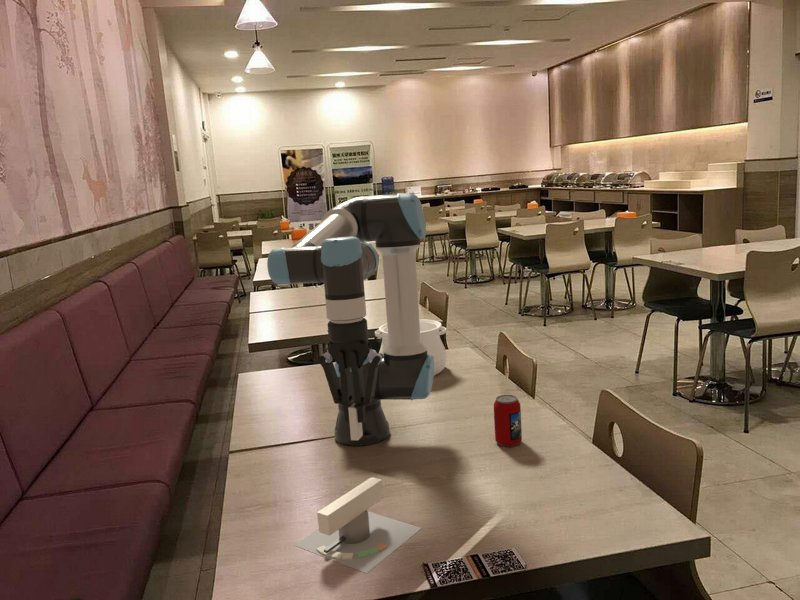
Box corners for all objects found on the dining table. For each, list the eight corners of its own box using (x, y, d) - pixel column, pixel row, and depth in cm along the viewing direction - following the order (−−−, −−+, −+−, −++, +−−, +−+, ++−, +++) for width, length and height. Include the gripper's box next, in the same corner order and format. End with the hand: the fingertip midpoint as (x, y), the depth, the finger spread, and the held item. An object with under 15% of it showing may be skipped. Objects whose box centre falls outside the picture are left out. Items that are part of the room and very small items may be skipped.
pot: (371, 383, 225) (367, 336, 222) (384, 363, 249) (381, 319, 246) (445, 381, 221) (442, 333, 218) (451, 361, 244) (449, 317, 241)
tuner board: (294, 550, 126) (294, 543, 125) (352, 511, 139) (351, 504, 139) (367, 579, 115) (366, 571, 115) (422, 533, 128) (421, 526, 128)
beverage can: (521, 448, 164) (519, 402, 161) (494, 448, 165) (492, 402, 163) (522, 437, 170) (520, 393, 168) (496, 437, 172) (493, 393, 169)
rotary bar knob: (314, 551, 123) (309, 510, 121) (368, 513, 135) (365, 475, 134) (338, 560, 119) (333, 518, 118) (391, 520, 132) (388, 481, 130)
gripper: (385, 314, 126) (394, 431, 129) (322, 315, 129) (333, 429, 133) (373, 322, 119) (382, 446, 122) (307, 323, 122) (318, 443, 126)
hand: (357, 437), depth 128 cm, fingers closed
